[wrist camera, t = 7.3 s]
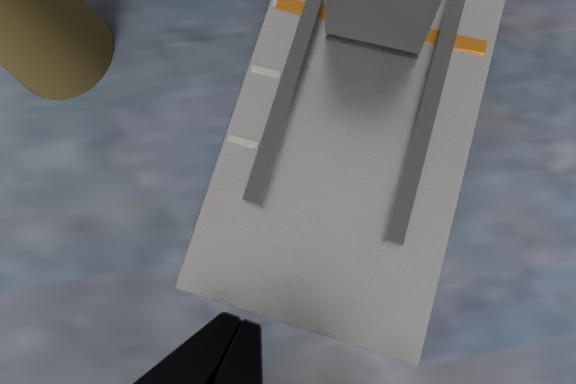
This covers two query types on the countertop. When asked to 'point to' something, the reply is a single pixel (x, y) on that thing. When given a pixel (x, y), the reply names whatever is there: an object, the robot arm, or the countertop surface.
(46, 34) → the cork
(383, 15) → the fader tab
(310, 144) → the plate
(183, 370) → the robot arm
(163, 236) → the countertop surface
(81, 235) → the countertop surface
